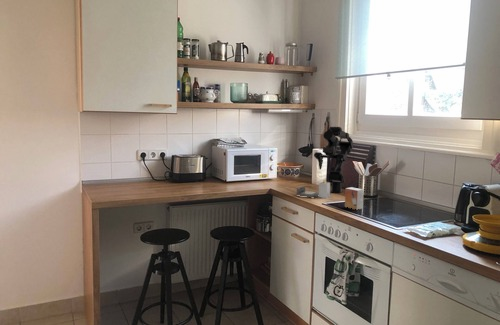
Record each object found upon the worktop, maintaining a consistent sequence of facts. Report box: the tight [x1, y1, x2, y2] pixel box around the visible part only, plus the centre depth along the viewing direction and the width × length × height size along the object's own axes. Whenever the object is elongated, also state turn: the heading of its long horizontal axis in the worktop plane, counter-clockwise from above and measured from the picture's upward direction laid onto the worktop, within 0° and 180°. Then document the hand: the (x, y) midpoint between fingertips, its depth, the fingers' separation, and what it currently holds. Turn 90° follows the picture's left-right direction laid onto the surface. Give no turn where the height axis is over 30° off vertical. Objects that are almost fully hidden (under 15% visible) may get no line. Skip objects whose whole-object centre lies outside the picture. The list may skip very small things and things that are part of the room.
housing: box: [318, 180, 331, 199], centre depth 247 cm, size 5×5×10 cm
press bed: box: [295, 185, 319, 198], centre depth 252 cm, size 10×11×5 cm
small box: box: [344, 186, 365, 211], centre depth 221 cm, size 8×6×10 cm
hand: (327, 170), depth 248 cm, fingers open, 9 cm apart
